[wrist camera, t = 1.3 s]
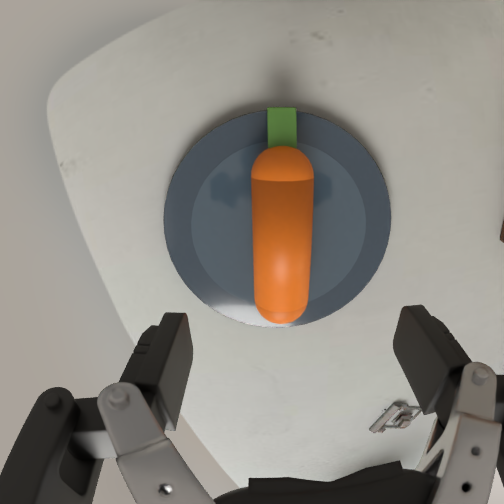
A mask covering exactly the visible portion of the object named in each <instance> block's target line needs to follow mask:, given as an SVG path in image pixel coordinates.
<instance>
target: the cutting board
mask: <svg viewBox="0 0 504 504" xmlns="http://www.w3.org/2000/svg"><path fill="white" fill-rule="evenodd" d="M500 240H501V241H502V242H504V222H503V227H502V232H501V236H500Z"/></svg>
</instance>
